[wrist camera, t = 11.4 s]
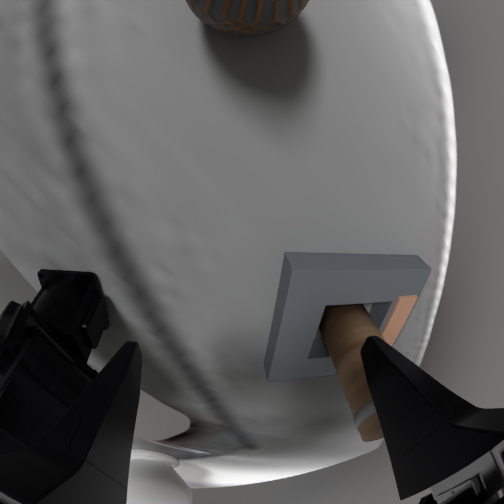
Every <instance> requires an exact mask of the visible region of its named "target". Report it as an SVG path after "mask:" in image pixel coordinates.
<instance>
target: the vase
mask: <svg viewBox="0 0 504 504" xmlns="http://www.w3.org/2000/svg"><path fill="white" fill-rule="evenodd" d="M186 1H187V4H188V6H189V7H190V9H191V10H192V12H193V13H194V14H195V15H196V16H197V17H198V18H199V19H200V20H201V21H202V22H204V23H205V24H207V25H208V26H210V27H212V28H214V29H216V30H219V31H222V32H225V33H229V34H235V35H257V34H262V33H266V32H270V31H273V30H276V29H278V28H280V27H282V26H284V25H286V24H287V23H289V22H290V21H291V20H293V19H294V18H295V17H296V16H297V15H298V14H299V13H300V12H301V11H302V10H303V9H304V8H305V6H306V5H307V3H308V1H309V0H186Z"/></svg>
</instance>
